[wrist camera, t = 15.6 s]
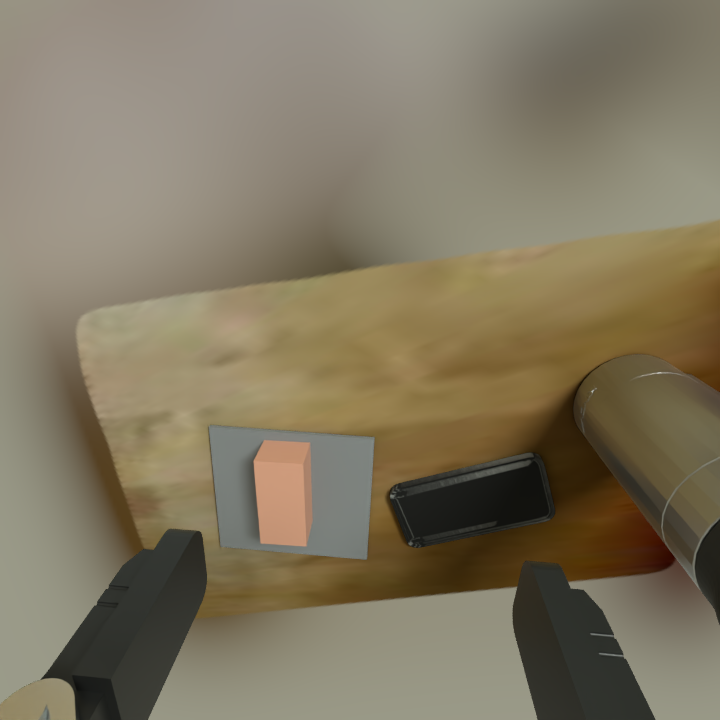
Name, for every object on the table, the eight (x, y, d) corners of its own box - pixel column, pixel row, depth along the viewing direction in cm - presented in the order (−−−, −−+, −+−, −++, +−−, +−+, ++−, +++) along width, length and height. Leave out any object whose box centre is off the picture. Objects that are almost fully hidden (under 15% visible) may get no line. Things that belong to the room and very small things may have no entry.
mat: (374, 437, 42) (374, 439, 42) (367, 556, 48) (366, 559, 47) (210, 425, 43) (208, 427, 43) (222, 543, 48) (220, 546, 48)
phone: (386, 491, 43) (542, 454, 41) (387, 483, 44) (538, 448, 42) (410, 550, 46) (557, 520, 43) (409, 542, 47) (553, 512, 44)
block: (260, 543, 43) (253, 461, 39) (269, 518, 46) (264, 440, 43) (306, 546, 43) (303, 464, 39) (312, 520, 46) (310, 442, 42)
